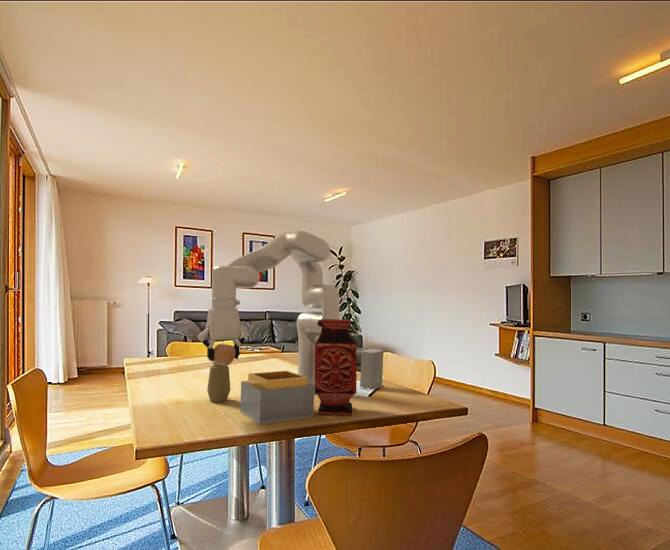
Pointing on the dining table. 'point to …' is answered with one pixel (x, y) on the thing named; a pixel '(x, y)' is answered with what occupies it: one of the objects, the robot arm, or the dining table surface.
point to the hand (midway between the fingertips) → (223, 359)
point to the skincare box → (371, 368)
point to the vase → (335, 367)
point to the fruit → (224, 354)
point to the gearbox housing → (276, 397)
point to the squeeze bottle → (218, 383)
